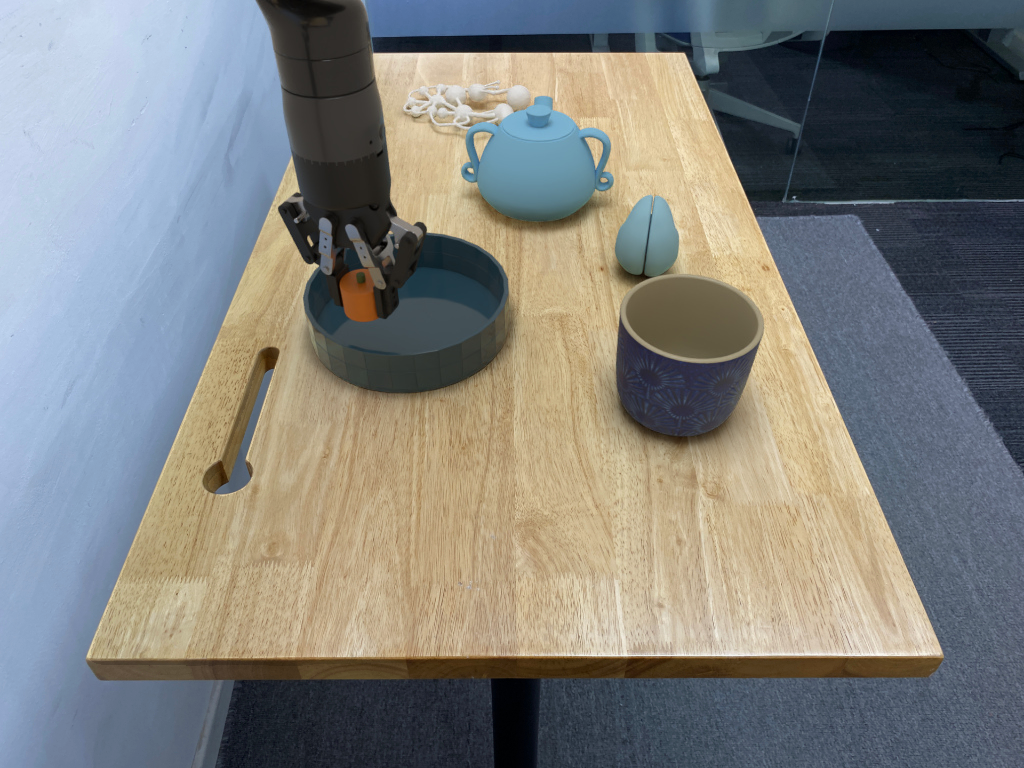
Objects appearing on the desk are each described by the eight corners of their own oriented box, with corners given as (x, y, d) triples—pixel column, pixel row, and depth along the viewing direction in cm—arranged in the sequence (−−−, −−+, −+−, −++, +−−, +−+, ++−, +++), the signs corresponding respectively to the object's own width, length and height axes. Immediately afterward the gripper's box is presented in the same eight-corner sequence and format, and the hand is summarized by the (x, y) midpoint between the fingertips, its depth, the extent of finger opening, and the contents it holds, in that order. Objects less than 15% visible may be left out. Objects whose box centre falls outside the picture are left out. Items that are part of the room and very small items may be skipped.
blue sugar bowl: (452, 227, 97) (446, 132, 88) (475, 153, 111) (473, 65, 103) (609, 238, 95) (620, 142, 87) (613, 161, 110) (622, 72, 101)
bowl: (385, 425, 72) (379, 387, 69) (275, 318, 84) (265, 281, 80) (548, 331, 82) (550, 293, 79) (431, 247, 94) (427, 211, 90)
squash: (359, 327, 71) (353, 292, 68) (336, 307, 73) (329, 272, 70) (395, 310, 73) (391, 275, 70) (371, 290, 75) (366, 256, 72)
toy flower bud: (687, 174, 90) (685, 221, 81) (676, 241, 96) (672, 292, 87) (626, 168, 91) (617, 214, 82) (618, 235, 97) (609, 285, 88)
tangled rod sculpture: (385, 130, 119) (381, 105, 116) (427, 87, 128) (424, 63, 125) (501, 150, 113) (499, 124, 110) (536, 103, 122) (535, 78, 119)
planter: (704, 351, 80) (724, 264, 72) (762, 436, 71) (792, 347, 64) (591, 372, 78) (600, 284, 70) (637, 462, 69) (652, 373, 61)
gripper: (233, 139, 60) (279, 312, 72) (393, 175, 56) (413, 351, 68) (289, 101, 65) (323, 269, 77) (439, 132, 61) (451, 303, 73)
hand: (365, 306), depth 73 cm, fingers closed on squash, 4 cm apart
